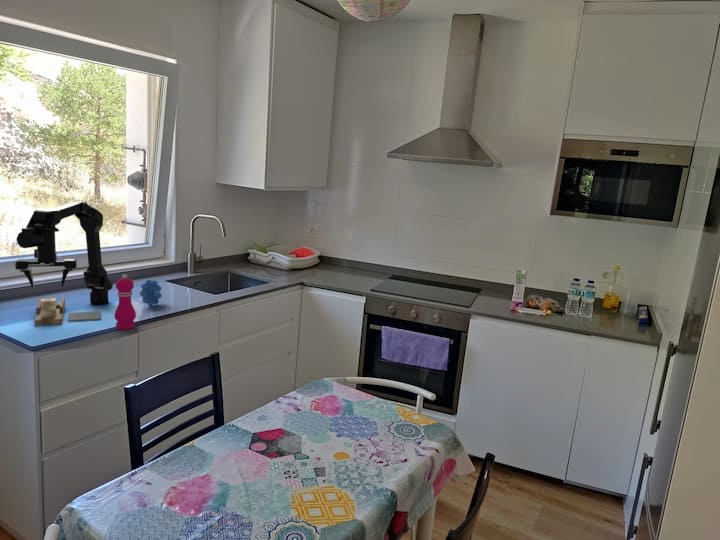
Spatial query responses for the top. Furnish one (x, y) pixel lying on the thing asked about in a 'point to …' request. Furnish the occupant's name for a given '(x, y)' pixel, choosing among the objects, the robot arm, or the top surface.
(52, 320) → the walnut trough
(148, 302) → the grapes
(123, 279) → the pepper mill
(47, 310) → the maple block
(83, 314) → the slate pad
